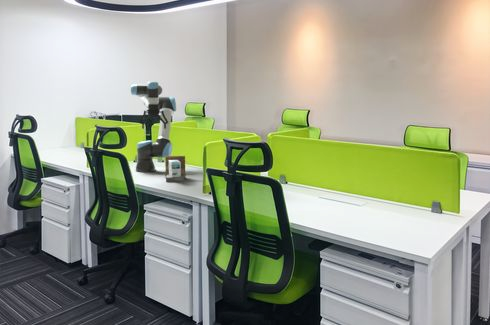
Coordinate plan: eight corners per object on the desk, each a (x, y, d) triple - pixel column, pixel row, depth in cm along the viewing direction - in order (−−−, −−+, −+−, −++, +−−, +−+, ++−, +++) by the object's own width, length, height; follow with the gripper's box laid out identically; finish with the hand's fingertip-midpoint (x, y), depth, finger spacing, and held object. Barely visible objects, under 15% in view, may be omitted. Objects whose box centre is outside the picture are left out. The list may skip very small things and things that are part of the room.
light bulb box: (181, 176, 305) (180, 161, 303) (171, 177, 302) (171, 162, 301) (177, 174, 315) (177, 159, 313) (168, 174, 312) (168, 159, 310)
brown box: (165, 177, 317) (165, 155, 314) (185, 177, 318) (185, 155, 316) (164, 181, 302) (164, 159, 300) (184, 181, 304) (184, 158, 301)
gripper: (135, 103, 308) (136, 133, 312) (170, 104, 311) (171, 133, 315) (136, 103, 316) (137, 132, 319) (171, 103, 319) (172, 132, 322)
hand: (154, 133), depth 317 cm, fingers open, 13 cm apart
